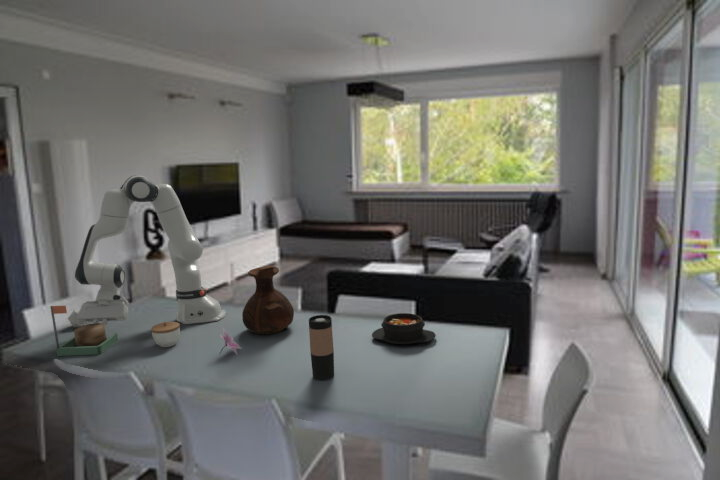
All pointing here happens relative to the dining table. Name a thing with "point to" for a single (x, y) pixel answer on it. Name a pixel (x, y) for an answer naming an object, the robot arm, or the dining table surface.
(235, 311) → the dining table surface
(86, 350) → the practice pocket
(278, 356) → the dining table surface
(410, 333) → the casserole
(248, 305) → the jug
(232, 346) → the lily
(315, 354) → the travel mug
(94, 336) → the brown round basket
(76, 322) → the white faceted block
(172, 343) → the lidded jar
